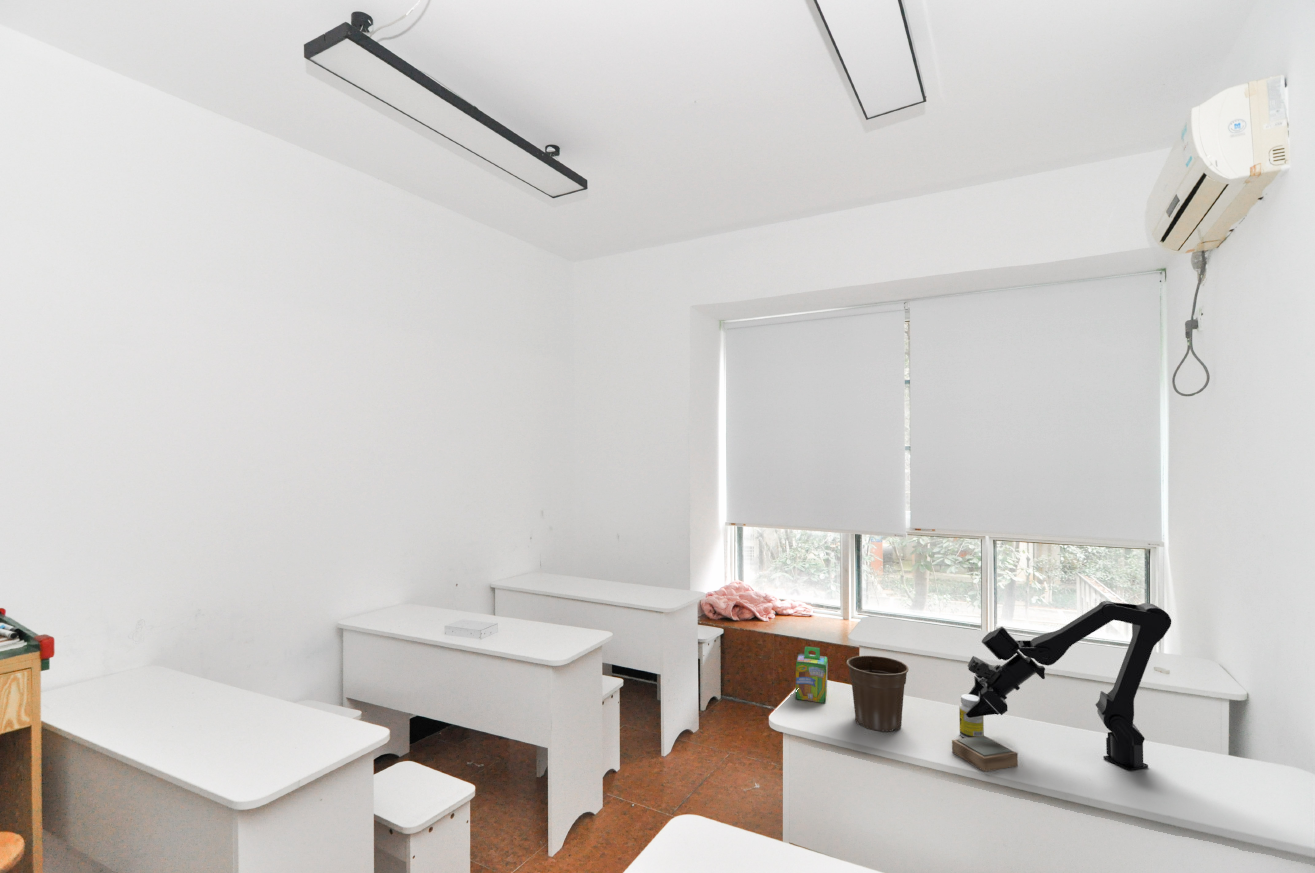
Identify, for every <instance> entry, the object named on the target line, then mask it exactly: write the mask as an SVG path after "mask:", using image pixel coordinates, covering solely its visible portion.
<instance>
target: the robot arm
mask: <svg viewBox="0 0 1315 873" xmlns="http://www.w3.org/2000/svg"><path fill="white" fill-rule="evenodd" d="M1113 621H1116V622H1117V621H1118V622H1123V623H1126V624H1130V625H1131V629H1132V630H1131V631H1132V632H1131V639H1130V642H1129V645H1128V647H1127V650H1126V652H1125V655H1124V658H1123V660H1122V663H1121V665H1120V669H1119V671H1118V674H1117V677H1116V680H1115V682H1114V685H1113V688H1112V689H1111V690H1110V691H1109V692H1107V693H1106V692H1104V691H1103V690H1102V691H1100V694H1099V698H1098V701H1097V702H1096V703H1095V705H1094V706H1095V707H1096V708H1097V710H1096V711H1097V714H1098V716H1099V718H1100V720H1101V721H1102V723H1103V724H1104V726H1105V728H1106V729H1108V730H1109V731H1108V732H1107V737H1106V738H1105V741H1106V742H1105V743H1106V746H1105V747H1106V749H1105V750H1106V751H1105V752H1106V755H1104V756H1102V757H1103V759H1104V760H1106V761H1108V762H1110V763H1113V764H1115V765H1116V766H1119V767H1120V768H1123V769H1126V771H1127V770H1128V771H1135V770H1141V769H1147V768H1149V764H1147V763H1145V762H1144V742H1145V740H1146V738H1145V737H1144V735H1143V734H1142V732H1141V731H1140V730H1139V729H1138V727H1137V726H1136V724H1135V723H1134V719H1135V718H1134V717H1135V698H1136V696H1137V695H1136V694H1137V692H1138V690H1139V687H1140V684H1141V682H1142V679H1143V676H1144V674H1145V671H1146V668H1147V666H1148V664H1149V660H1150V658H1151V655H1152V652H1153V650H1154V647H1155V645H1157V644H1158V643H1159V642H1160V641H1161V640H1162V639H1163V638H1164V637H1165V635H1166V634H1167V633H1168V631H1169V629H1170V628H1171V626H1172V619H1171V616H1170V615H1169V613H1167V612H1166V611H1165V610H1163V609H1162V608H1161V607H1159V606H1157V605H1155V604H1153V603H1149V602H1143V603H1140V604H1133V603H1132V604H1131V603H1124V602H1113V601H1109V600H1103V601H1100V602H1099V604H1098V605H1097V606H1095V607H1093V608H1092V609H1089V611H1087V612H1085V613H1083V614H1082V615H1080V616H1079V617H1077V618H1075V619H1074V620H1072V621H1070V622H1069V623H1068V624H1066V625H1064V626H1063V627H1061V628H1059V629H1057V630H1054V631H1051V632H1046V633H1044V634H1040V635H1038V636H1036V637H1034V638H1032V639H1031V640H1030V639H1028V640H1025V639H1024V640H1023V639H1022V640H1016V639H1015V638H1014V637H1013V636H1012V635H1011V634H1010V633H1009V632H1008V631H1007V629H1006V628H1005V627H1004V626H1000V627H999V628H996V629H994V630H992V631H990V632H988V633H987V634H986V635H985V636H984V637H983V638H982V639H981V643H982V644H983V645H984V647H986V648H987V650H989V652H991V653H992V654H993V655H994V656H995V658H996V659H997V660H1003V661H1006V662H1005V663H1004V664H1002V665H1001V664H996V665H995V666H992V665H991V664H989V663H987V661H984V660H983V659H980V658H978V657H976V656H974V655H972V657H971V658H970V661H969V662H968V665H967V667H968V668H967V669H968V671H969V672H970V673H973V674H974V676H973V679H974V680H973V681H974V685H973V686H972V688H971V690H970V691H969V692H968V694H970V695H975V696H978V697H979V700H978V701H977V702H976V703H975V704H974V705H973V706H972V707H971V709H970V710H969V711H968V712H967V713H966V716H967V717H968V718H972V717H978V716H991V715H992V716H994V715H997V716H998V715H1000V716H1003V715H1004V714H1005V713H1007V712H1008V703H1007V702H1006V701H1007V700H1008V697H1007V696H1008V695H1009V694H1010V693H1011V692H1012V691H1014V690H1015V691H1019V690H1020V689H1021V687H1020V686H1021V685H1022V684H1023V683H1024V682H1026V681H1028V680H1029V679H1030V678H1031V677H1033V676H1034V675H1035V674H1037V675H1038V676H1039V677H1040V679H1042V680H1045V679H1046V676H1045V673H1046V672H1045V671H1046V668H1045V666H1047V667H1048V666H1052V665H1054V664H1055V663H1056V662H1058V661H1059V660H1060V659H1061V658H1062V657H1063V656H1064V655H1065V654H1066V653H1067V651H1068V650H1069V649H1070V648H1071V647H1072V646H1073V645H1074V644H1076V643H1078V642H1080V641H1081V640H1083V639H1084V638H1086V637H1088V636H1089V635H1091V634H1093V633H1094V632H1096V631H1097V630H1099V629H1101V628H1103V627H1105V626H1106V625H1108V624H1110V623H1111V622H1113ZM1039 664H1040V665H1039Z"/></svg>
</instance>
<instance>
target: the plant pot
mask: <svg viewBox="0 0 1315 873" xmlns="http://www.w3.org/2000/svg"><path fill="white" fill-rule="evenodd" d="M846 665H847V667H848V672H849V678H850V679H851V681H850V682H851V689H852V697H853V699H852V700H853V708H854V718H855V722H856V723H857V725H858V726H859V725H862V726H863V727H864V728H865V729H869V730H872V731H876V732H892V731H894V730H896V731H897V730H899V729H901V728H902V724H903V723H902V721H903V710H904V709H903V707H904V697H905V696H904V694H905V686H906V683H907V673H908V672H909V666H908V665H907V664H906V663H904V662H902V661H900V660H898V659H894V658H890V657H885V656H877V655H858V656H857V655H856V656H853V657H849V658H848V659H847V660H846Z"/></svg>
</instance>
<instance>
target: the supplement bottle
mask: <svg viewBox="0 0 1315 873" xmlns="http://www.w3.org/2000/svg"><path fill="white" fill-rule="evenodd" d="M978 700H979V697H978V696H975V695H970V694H969V693H965V694H964V693H962V694H961V696H960V702H961V703H960V704H959V712H958V714H959V734H960V737H962V738H970V737H976V736H983V735H984V736H985V728H984V726H985V725H984V724H985V723H984V716H978V717H972V718H968V717H967V716H966V713H967V712H968V711H969V710H970V709H971V707H972V706H973V705H974V704H975V703H976V702H977V701H978Z"/></svg>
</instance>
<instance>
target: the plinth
mask: <svg viewBox="0 0 1315 873" xmlns="http://www.w3.org/2000/svg"><path fill="white" fill-rule="evenodd" d="M951 747H952V748H951V753H953V754H954V755H956V756H957V757H959V756H960V757H959V758H961V759H963V760H965V761H966V762H968V763H969V764H971V765H972V766H974V767H976V768H978V769H980V770H981V771H982V772H984V773H985V772H991V771H996V770H1001V769H1002V770H1003V769H1009V768H1015V767H1019V765H1018V764H1019V762H1018V761H1019V756H1018V753H1017V752H1016V751H1014V750H1012V749H1010V747H1007V746H1005V745H1003V744H1001V743H999V742H997V741H995V740H993V739H992V738H990V737H987V736H985V734H984V735H983V736H976V737H970V738H964V737H962V738H955V739H952V740H951ZM1008 767H1009V768H1008Z"/></svg>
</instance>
